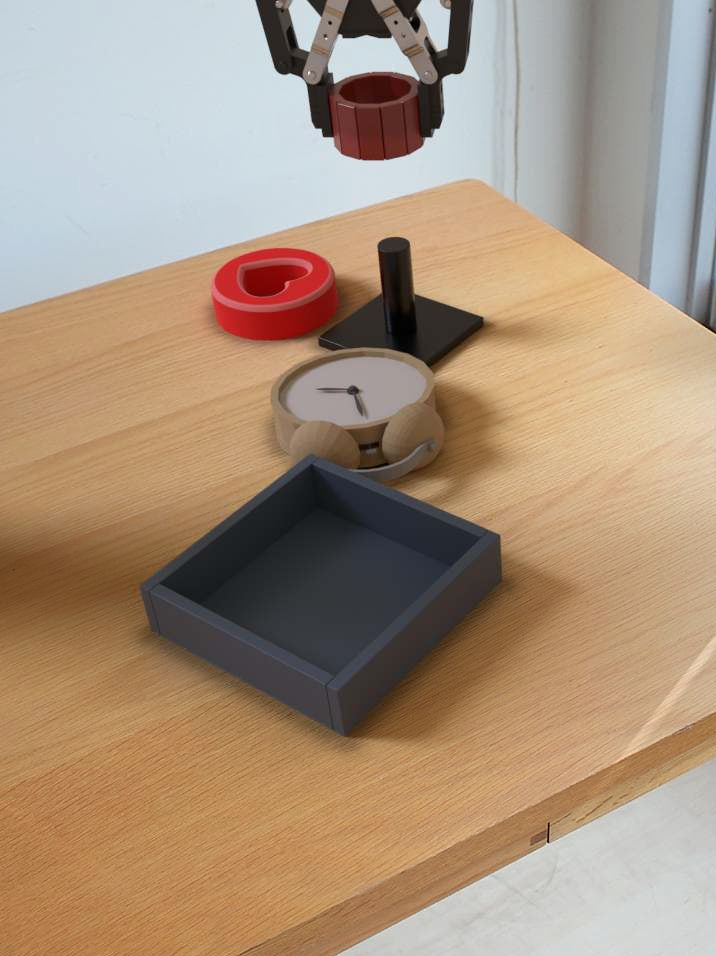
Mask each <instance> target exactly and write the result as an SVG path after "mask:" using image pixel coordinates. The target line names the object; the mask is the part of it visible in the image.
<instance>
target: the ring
mask: <svg viewBox="0 0 716 956" xmlns="http://www.w3.org/2000/svg"><path fill="white" fill-rule="evenodd" d="M418 82H419V79H417V78H416V77H415V76H412V75H409V74H404V73H401V72H398V71H371V72H370V71H368V72H363V73H359V74H358V73H357V74H354V75H349V76H346V77H344V78H343V79H340V80H339V81H337V82H334V84H333V86H332V88H331V90H330V92H329V95H328V98H329V106H330V114H331V122H332V130H333V144H334V145H333V146H334V148H335V149H336V150H337V151H338V152H339V153H340V154H341V155H342V156H344V157H347V158H351V159H354V160H359V161H365V162H366V161H373V162H375V161H376V162H378V161H381V162H383V161H389V160H394V159H399V158H402V157H407V156H410V155H411V154H413V153H415V152H416V151H418V150H420V149H421V148H422V147H423V146H424V145H425V141H426V138H422V137H421V128H420V115H419V103H418V90H417V84H418Z"/></svg>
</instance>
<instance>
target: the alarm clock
mask: <svg viewBox="0 0 716 956" xmlns="http://www.w3.org/2000/svg"><path fill="white" fill-rule="evenodd" d="M435 390H436V385H435V378H434V372H433V371H432V370H431V368H428V366H427V365H426V364H425V363H424V362H423V361H421V360H419V359H417V358H415V357H413V356H411V355H409V354H407V353H403V352H398V351H394V350H390V349H381V348H353V349H343V350H337V351H329V352H325V353H321V354H316V355H314V356H312V357H309V358H307V359H305V360H303V361H300V362H297V363H295V364H294V365H293V366H291V367H289V368H288V369H287V370H286V371H284V372H283V373H281V374H280V375H279V376H278V377H277V379H276V380H275V382H274V384H273V385H272V386H271V388H270V396H269V397H270V400H269V403H270V407H271V408H272V414H273V421H274V426H275V432H276V433H275V436H276V439H277V442H278V443H279V445H280V447H281V449H282V450H283V452H284V453H286V454H287V455H289V457H290V460H291V463H292V467H293V466H295V465H296V464H297V463H299V462H300V461H301V460H302V459H304V458H305V457H306V456H308V455H309V454H310V453H311V454H313V455H316V456H318V457H320V458H323V459H325V460H327V461H330V462H332V463H334V464H337V465H339V466H341V467H344V468H346V469H348V470H351V471H353V472H355V473H358V474H360V475H362V476H365V477H367V478H369V479H372V480H374V481H376V482H379V483H381V484H382V483H384V482H388V481H391V480H395V479H398V478H400V477H403V476H405V475H406V474H408V473H410V472H414V471H418V470H421V469H423V468H425V467H427V466H428V465H429V464H431V463H432V462H433V461H434V460H435V459H436V458H437V456H438V455H439V453H440V452H441V449H442V447H443V444H444V441H445V426H444V423H443V420H442V418H441V416H440V415H439V413H438V412H437V411H438V410H437V405H436V395H435ZM386 463H387V464H388V465H386V466H381V467H377V468H376V467H375V466H380V465H384V464H386ZM372 467H375V468H372ZM362 468H363V469H362ZM364 468H369V469H364Z"/></svg>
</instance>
